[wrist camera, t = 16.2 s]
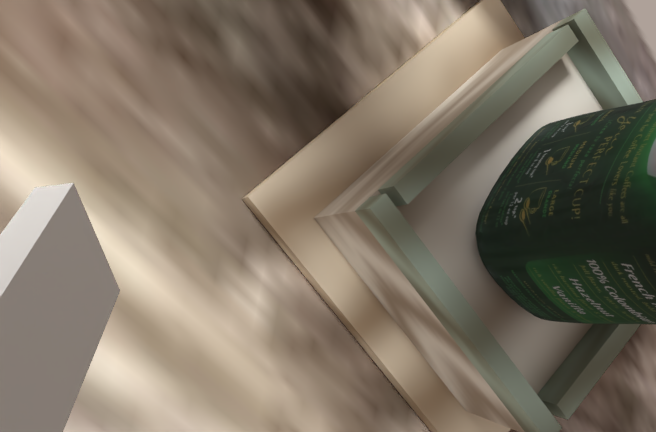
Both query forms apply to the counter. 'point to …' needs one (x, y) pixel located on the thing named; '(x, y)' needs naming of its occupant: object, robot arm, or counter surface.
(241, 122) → the counter surface
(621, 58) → the counter surface
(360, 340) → the display plinth
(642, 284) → the coffee jar
